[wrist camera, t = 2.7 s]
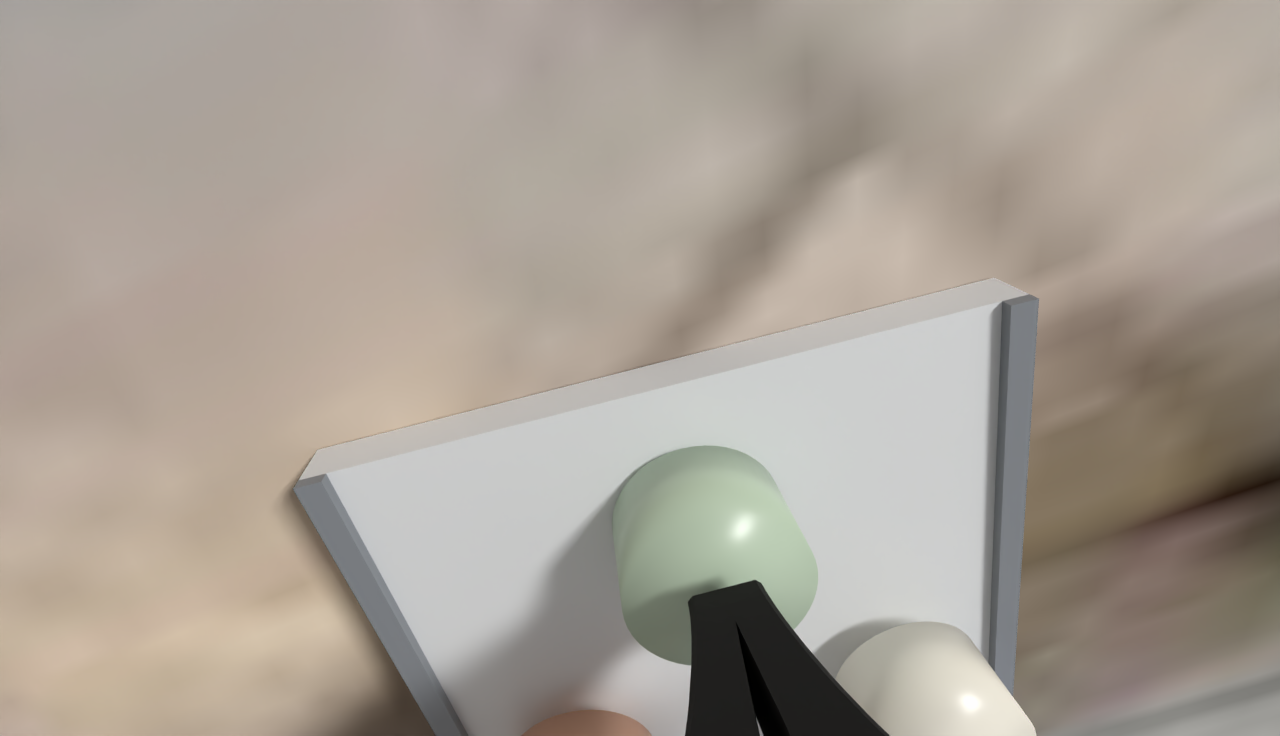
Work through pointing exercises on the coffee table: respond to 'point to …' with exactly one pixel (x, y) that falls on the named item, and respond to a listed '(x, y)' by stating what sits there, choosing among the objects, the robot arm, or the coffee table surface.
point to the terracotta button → (588, 725)
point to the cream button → (931, 685)
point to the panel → (668, 421)
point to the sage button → (704, 543)
